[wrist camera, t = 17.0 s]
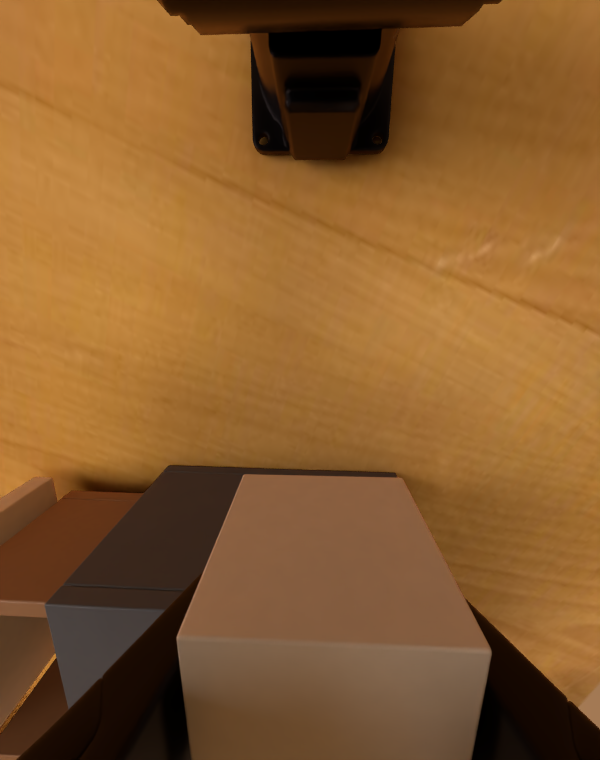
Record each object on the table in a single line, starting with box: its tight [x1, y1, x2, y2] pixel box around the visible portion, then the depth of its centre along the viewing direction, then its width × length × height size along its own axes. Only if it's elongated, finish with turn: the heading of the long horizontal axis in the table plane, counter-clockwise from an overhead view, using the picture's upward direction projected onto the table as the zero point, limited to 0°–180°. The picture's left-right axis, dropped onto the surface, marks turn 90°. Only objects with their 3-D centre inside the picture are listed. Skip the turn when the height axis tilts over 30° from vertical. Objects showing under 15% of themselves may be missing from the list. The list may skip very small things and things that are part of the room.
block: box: [177, 474, 492, 760], centre depth 7 cm, size 4×4×4 cm
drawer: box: [0, 477, 144, 760], centre depth 17 cm, size 19×11×8 cm, turn 89°
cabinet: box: [45, 466, 398, 709], centre depth 17 cm, size 15×13×10 cm
